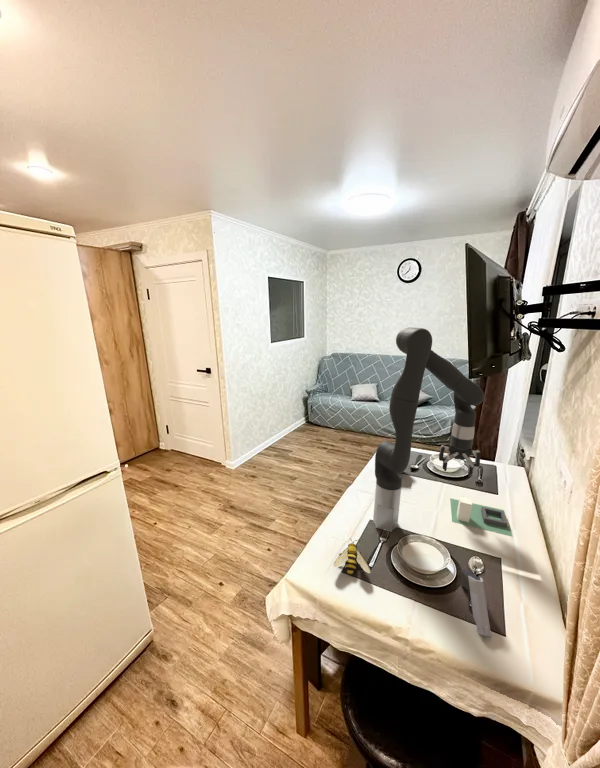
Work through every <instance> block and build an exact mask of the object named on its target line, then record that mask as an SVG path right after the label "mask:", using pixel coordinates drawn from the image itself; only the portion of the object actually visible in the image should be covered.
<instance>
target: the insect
mask: <svg viewBox="0 0 600 768" xmlns="http://www.w3.org/2000/svg"><path fill="white" fill-rule="evenodd" d="M350 540H351V543H348V545H347V546H348V547H346V548H345V549H344V550H343V551H341V552H340V553H338V556H337V558H336V559H335V561H334V562H333V567H334V568H340V567H341V566H342V565H344V566H345V569H346V572H347V574H348V575H349V576H352V574H354V572H355V570H356V569H357V564H359V566H360V569H361V573H363V571H364V572H366V573H367V574H371V569H370V566H369V564H368V563H367V561H366V560H365V558H364V557H363V555H362V554H361V551H359V550H358V546H357V545H356V544H355V542H356V541H358V539H355V540H354V541H353V540H352V539H350Z"/></svg>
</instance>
